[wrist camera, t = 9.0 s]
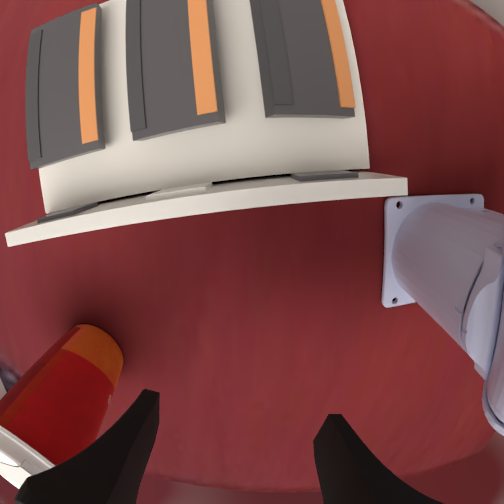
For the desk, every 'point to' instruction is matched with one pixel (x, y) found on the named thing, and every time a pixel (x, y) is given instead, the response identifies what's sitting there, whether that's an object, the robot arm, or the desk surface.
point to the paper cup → (58, 403)
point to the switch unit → (206, 147)
